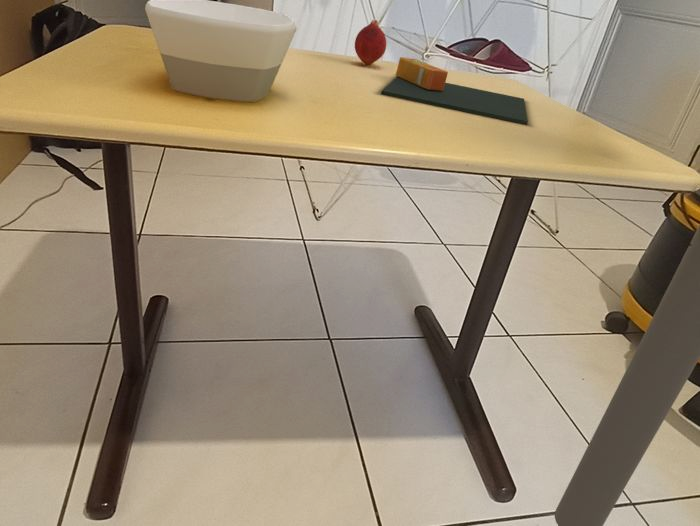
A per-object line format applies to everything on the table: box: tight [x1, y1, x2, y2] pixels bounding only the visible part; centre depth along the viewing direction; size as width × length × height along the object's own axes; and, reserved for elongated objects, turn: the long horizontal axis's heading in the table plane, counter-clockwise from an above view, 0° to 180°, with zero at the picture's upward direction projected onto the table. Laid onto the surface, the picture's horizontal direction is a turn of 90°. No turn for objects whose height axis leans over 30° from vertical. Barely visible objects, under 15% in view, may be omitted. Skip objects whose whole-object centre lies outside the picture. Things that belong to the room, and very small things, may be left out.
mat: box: [380, 76, 529, 126], centre depth 90 cm, size 22×18×1 cm
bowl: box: [144, 0, 297, 103], centre depth 70 cm, size 18×18×9 cm
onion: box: [354, 19, 387, 67], centre depth 102 cm, size 6×6×8 cm
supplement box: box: [395, 56, 449, 91], centre depth 93 cm, size 3×3×10 cm
